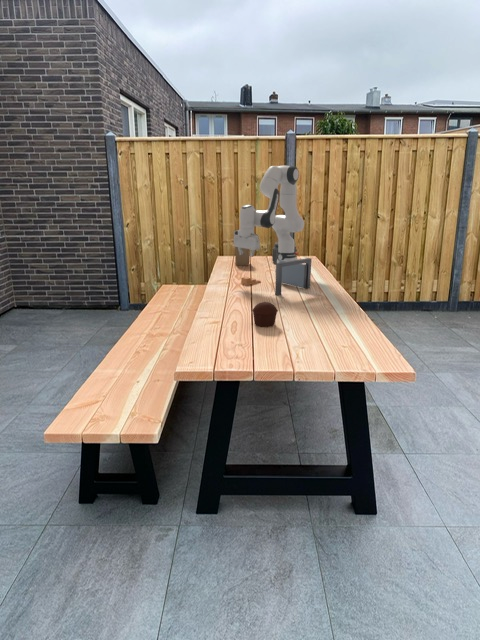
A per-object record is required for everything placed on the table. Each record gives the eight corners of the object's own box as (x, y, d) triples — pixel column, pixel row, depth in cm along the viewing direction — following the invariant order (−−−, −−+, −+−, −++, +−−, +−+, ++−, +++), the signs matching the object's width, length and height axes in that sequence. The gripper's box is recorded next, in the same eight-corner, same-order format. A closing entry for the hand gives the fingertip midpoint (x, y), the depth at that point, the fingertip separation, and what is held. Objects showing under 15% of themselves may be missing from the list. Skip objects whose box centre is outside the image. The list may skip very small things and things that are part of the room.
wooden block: (249, 263, 349) (249, 237, 343) (248, 266, 340) (248, 239, 334) (236, 263, 350) (236, 237, 344) (235, 265, 341) (235, 239, 335)
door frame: (306, 287, 275) (308, 258, 270) (309, 288, 273) (311, 258, 268) (275, 294, 258) (276, 263, 252) (278, 295, 256) (279, 263, 251)
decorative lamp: (269, 264, 348) (270, 224, 339) (275, 260, 365) (276, 222, 356) (293, 266, 342) (294, 225, 333) (298, 261, 359) (300, 223, 350)
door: (306, 288, 272) (307, 264, 267) (304, 288, 271) (305, 265, 267) (280, 281, 287) (280, 259, 283) (278, 282, 286) (279, 260, 282)
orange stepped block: (246, 285, 280) (246, 278, 279) (241, 283, 284) (241, 277, 283) (260, 282, 288) (260, 276, 287) (255, 281, 292) (255, 275, 290)
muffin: (266, 330, 198) (266, 308, 195) (246, 324, 205) (247, 303, 202) (282, 324, 207) (283, 302, 204) (263, 319, 214) (263, 298, 211)
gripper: (262, 234, 269) (261, 257, 273) (239, 231, 283) (239, 253, 287) (254, 234, 265) (254, 258, 269) (232, 231, 279) (231, 254, 283)
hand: (246, 255), depth 278 cm, fingers open, 8 cm apart
